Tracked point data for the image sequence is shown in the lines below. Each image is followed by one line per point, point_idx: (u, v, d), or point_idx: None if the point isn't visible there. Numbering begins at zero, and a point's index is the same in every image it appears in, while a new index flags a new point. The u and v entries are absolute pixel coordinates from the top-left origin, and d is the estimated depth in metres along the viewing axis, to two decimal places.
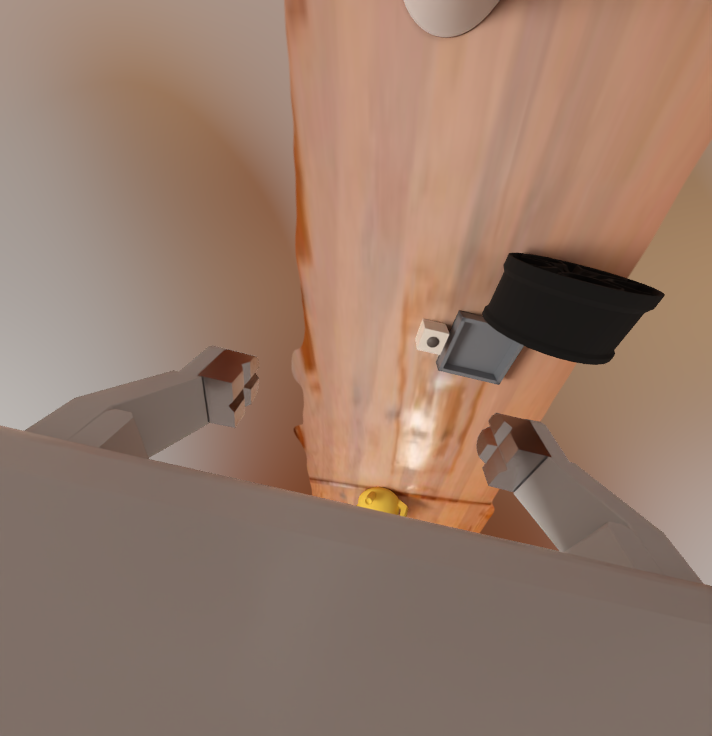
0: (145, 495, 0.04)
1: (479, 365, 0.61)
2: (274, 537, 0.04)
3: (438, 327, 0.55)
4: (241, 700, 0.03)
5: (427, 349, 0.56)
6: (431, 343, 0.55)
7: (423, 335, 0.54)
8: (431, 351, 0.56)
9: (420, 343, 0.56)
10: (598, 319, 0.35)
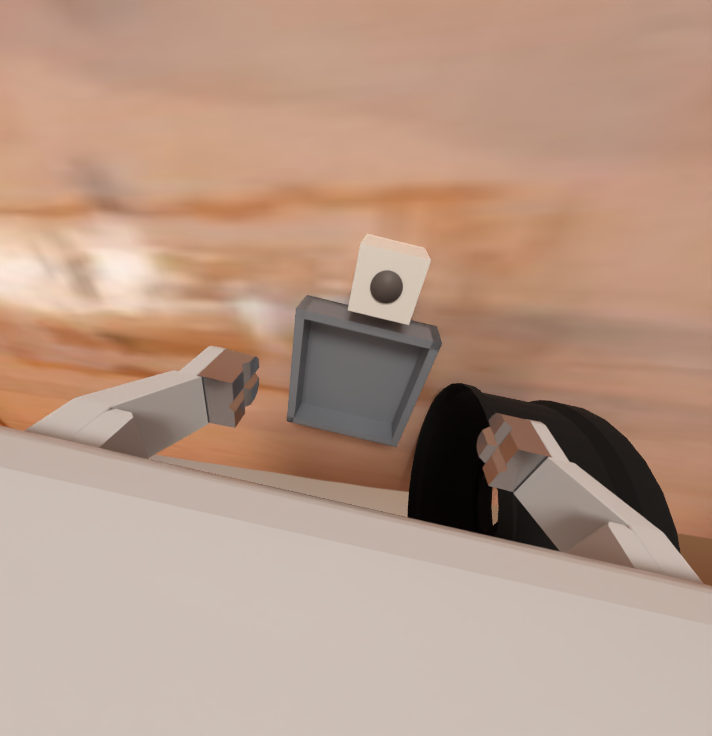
0: (146, 495, 0.04)
1: (315, 379, 0.31)
2: (274, 537, 0.04)
3: None
4: (241, 700, 0.03)
5: (361, 274, 0.20)
6: (382, 284, 0.20)
7: (407, 258, 0.19)
8: (356, 286, 0.20)
9: (381, 252, 0.19)
10: None
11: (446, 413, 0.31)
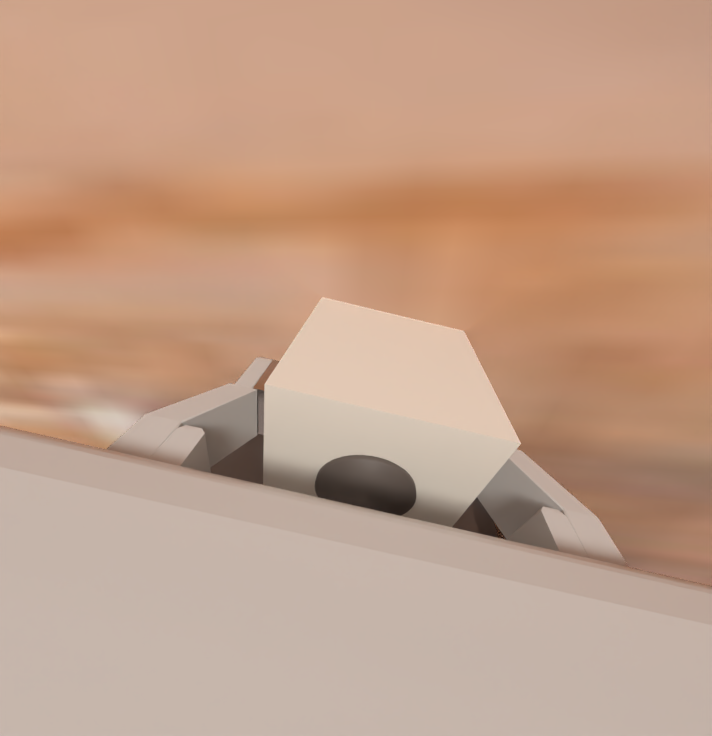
0: (145, 494, 0.04)
1: None
2: (274, 537, 0.04)
3: None
4: (240, 702, 0.03)
5: (284, 458, 0.06)
6: (352, 486, 0.06)
7: (436, 432, 0.05)
8: (276, 480, 0.07)
9: (342, 411, 0.05)
10: None
11: None
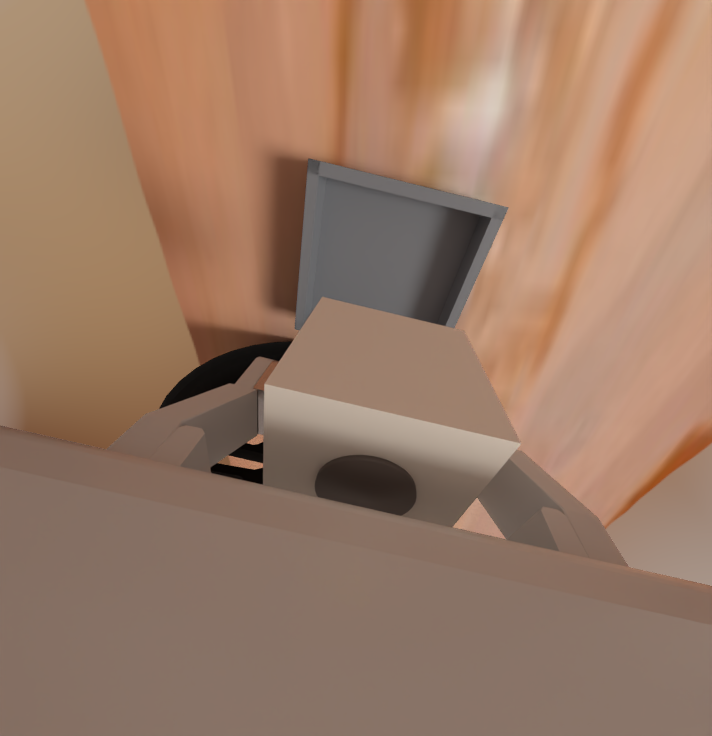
0: (145, 494, 0.04)
1: (371, 209, 0.22)
2: (274, 537, 0.04)
3: None
4: (240, 702, 0.03)
5: (284, 458, 0.06)
6: (353, 486, 0.06)
7: (436, 432, 0.05)
8: (276, 480, 0.07)
9: (342, 411, 0.05)
10: None
11: None
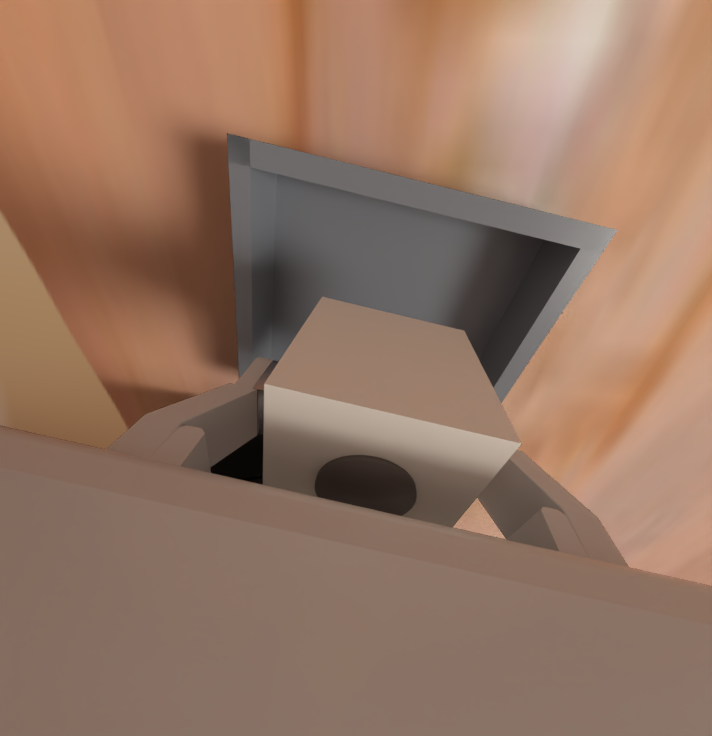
0: (146, 495, 0.04)
1: (356, 227, 0.13)
2: (274, 537, 0.04)
3: None
4: (241, 700, 0.03)
5: (284, 458, 0.06)
6: (353, 486, 0.06)
7: (436, 432, 0.05)
8: (276, 480, 0.07)
9: (342, 411, 0.05)
10: None
11: None
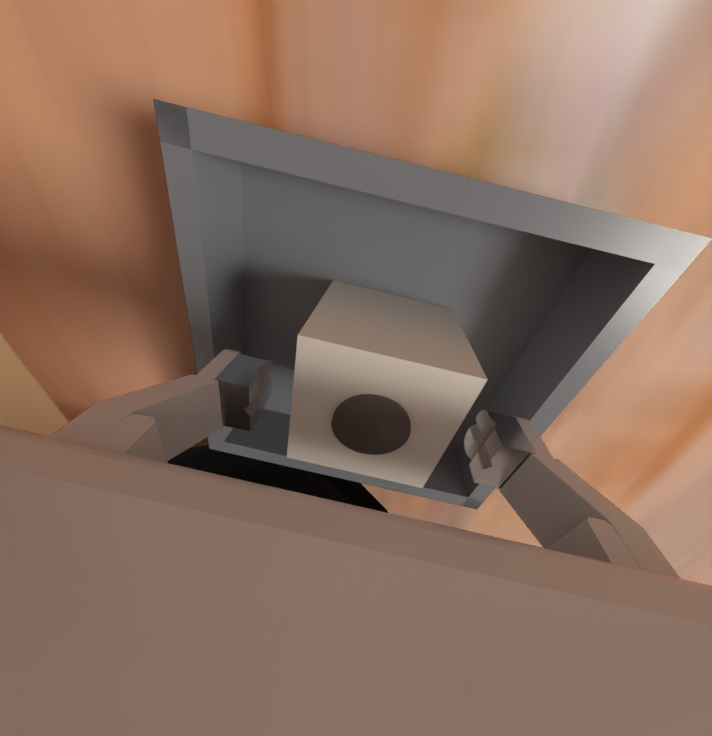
0: (145, 495, 0.04)
1: (346, 231, 0.10)
2: (274, 537, 0.04)
3: None
4: (240, 700, 0.03)
5: (308, 399, 0.08)
6: (361, 422, 0.08)
7: (425, 372, 0.07)
8: (300, 420, 0.09)
9: (355, 356, 0.07)
10: None
11: (299, 472, 0.19)
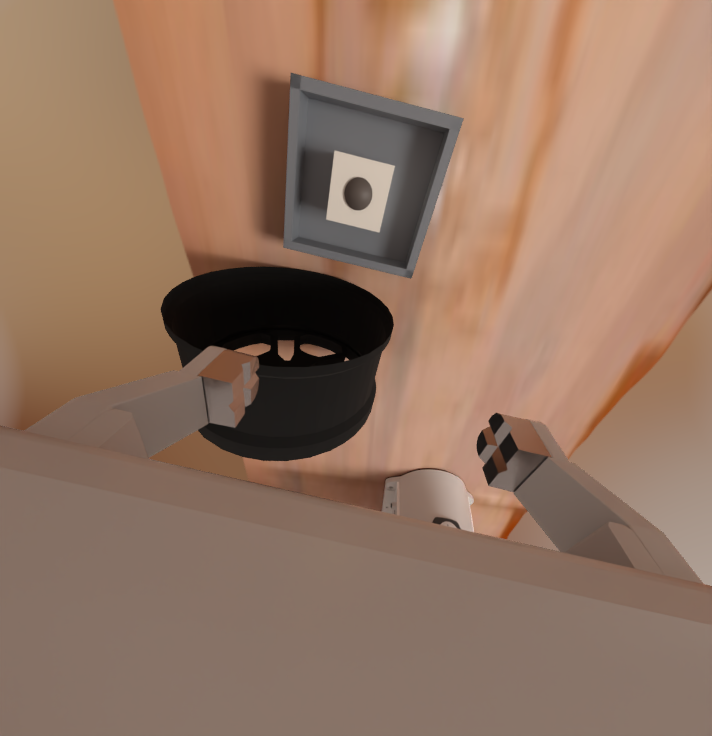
0: (145, 495, 0.04)
1: (348, 129, 0.25)
2: (274, 537, 0.04)
3: None
4: (241, 702, 0.03)
5: (336, 182, 0.23)
6: (355, 190, 0.23)
7: (375, 164, 0.22)
8: (333, 195, 0.23)
9: (352, 159, 0.22)
10: (256, 424, 0.21)
11: (322, 290, 0.34)
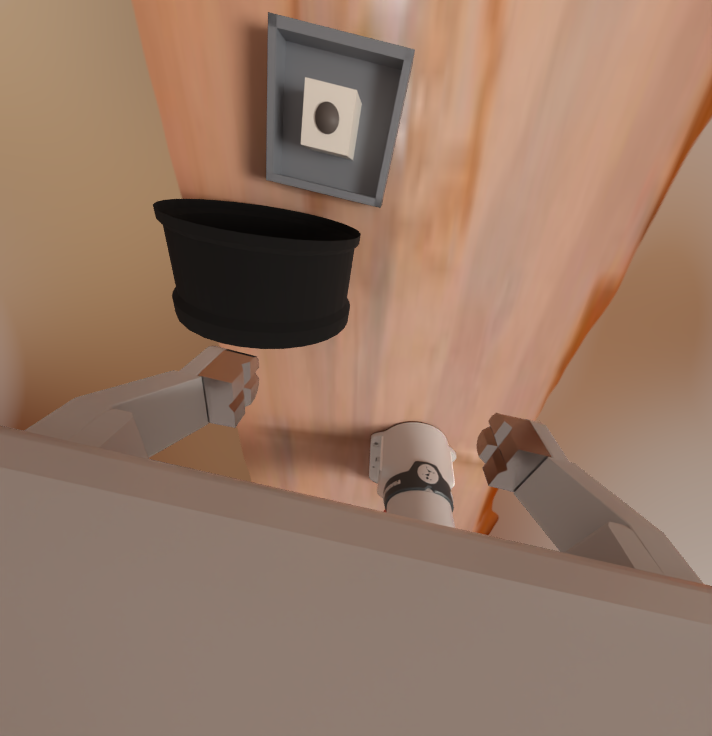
0: (145, 495, 0.04)
1: (321, 69, 0.29)
2: (274, 537, 0.04)
3: (353, 135, 0.29)
4: (241, 702, 0.03)
5: (308, 107, 0.27)
6: (324, 114, 0.27)
7: (340, 89, 0.26)
8: (305, 120, 0.27)
9: (320, 84, 0.26)
10: (233, 305, 0.24)
11: (303, 228, 0.37)
